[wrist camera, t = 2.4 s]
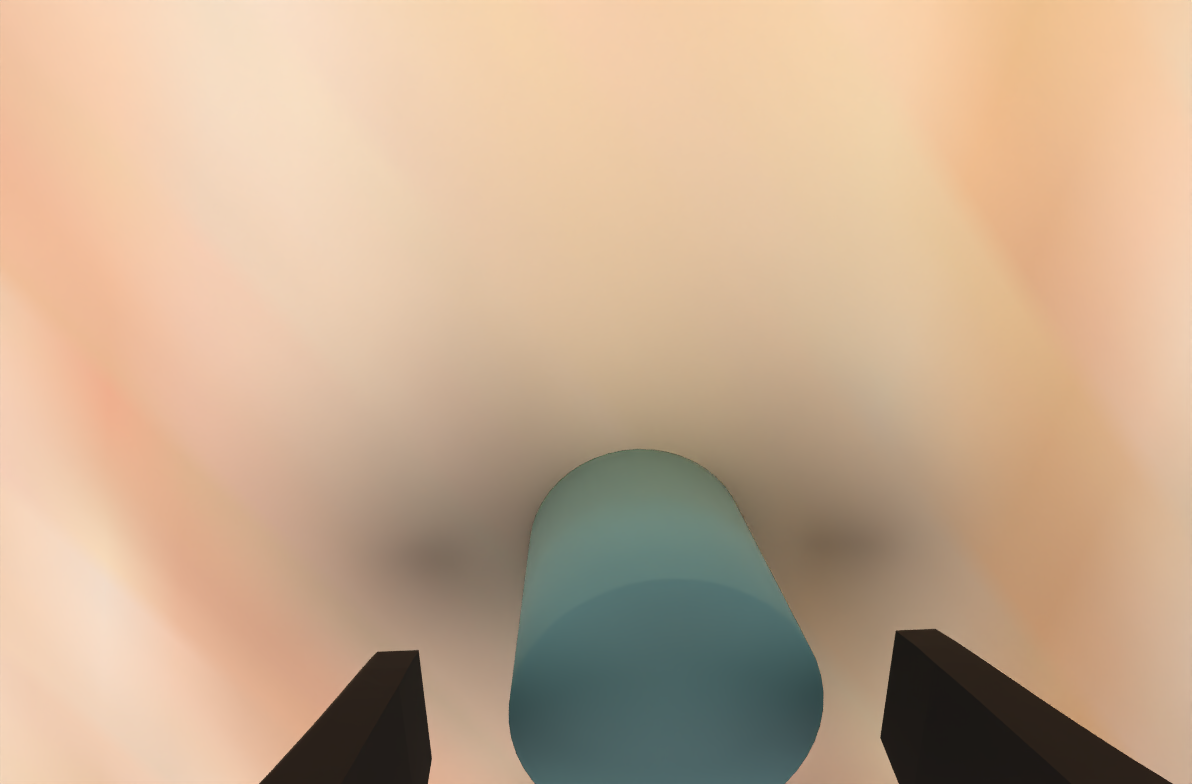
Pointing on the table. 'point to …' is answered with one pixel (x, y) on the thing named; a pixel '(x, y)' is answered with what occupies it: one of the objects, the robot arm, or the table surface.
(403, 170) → the table surface
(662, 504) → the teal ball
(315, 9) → the table surface
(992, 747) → the robot arm
